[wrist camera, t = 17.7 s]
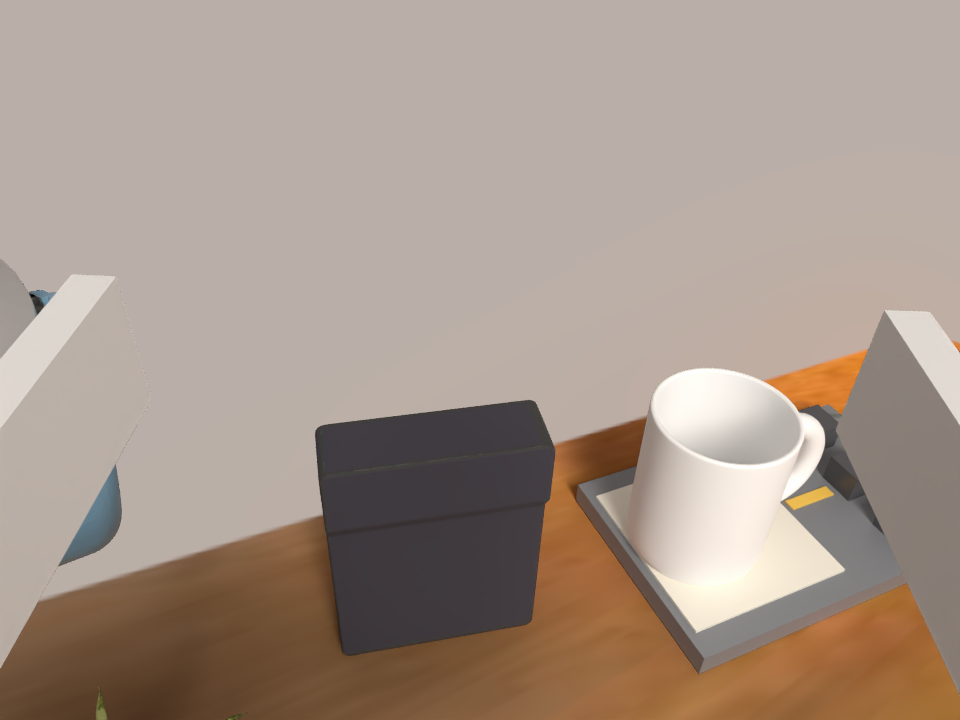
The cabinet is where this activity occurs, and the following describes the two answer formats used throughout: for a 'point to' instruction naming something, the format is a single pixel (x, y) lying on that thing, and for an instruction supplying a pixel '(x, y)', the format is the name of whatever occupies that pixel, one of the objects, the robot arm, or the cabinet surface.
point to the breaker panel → (764, 561)
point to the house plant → (102, 716)
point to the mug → (716, 473)
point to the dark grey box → (434, 521)
